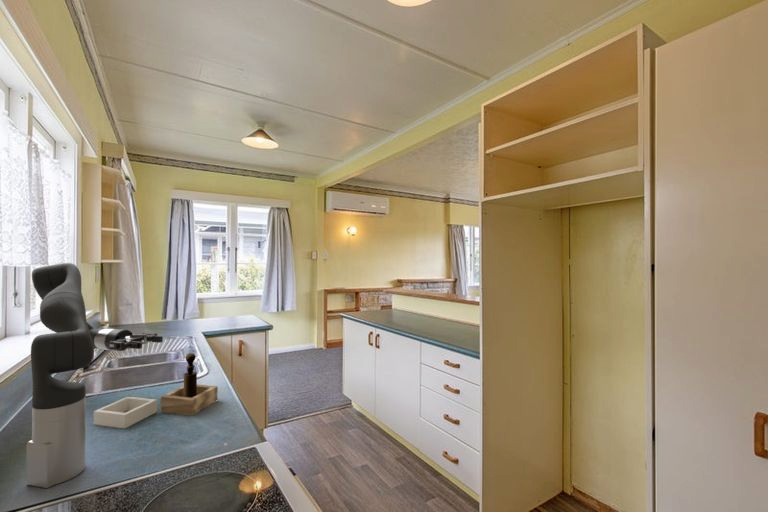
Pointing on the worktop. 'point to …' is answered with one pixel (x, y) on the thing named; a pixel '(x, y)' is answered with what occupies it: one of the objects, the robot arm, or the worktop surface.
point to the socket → (189, 400)
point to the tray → (116, 417)
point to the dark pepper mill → (190, 377)
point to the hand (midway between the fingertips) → (151, 342)
